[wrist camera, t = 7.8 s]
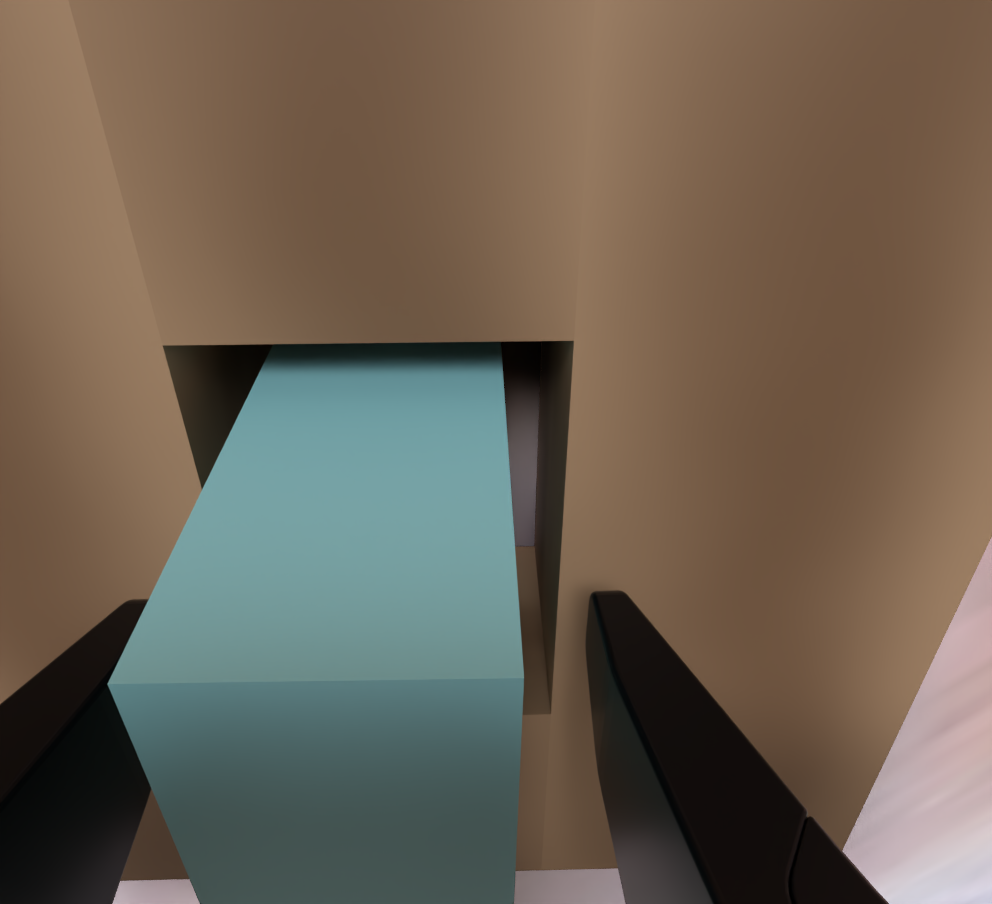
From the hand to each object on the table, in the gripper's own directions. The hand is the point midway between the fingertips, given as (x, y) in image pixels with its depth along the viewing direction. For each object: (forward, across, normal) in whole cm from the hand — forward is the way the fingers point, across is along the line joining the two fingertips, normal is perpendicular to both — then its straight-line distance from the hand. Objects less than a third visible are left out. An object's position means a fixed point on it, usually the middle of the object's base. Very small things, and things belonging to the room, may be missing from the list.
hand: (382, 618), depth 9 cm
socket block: (+5, 0, 0) cm, 5 cm away
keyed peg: (+5, 0, 0) cm, 5 cm away
